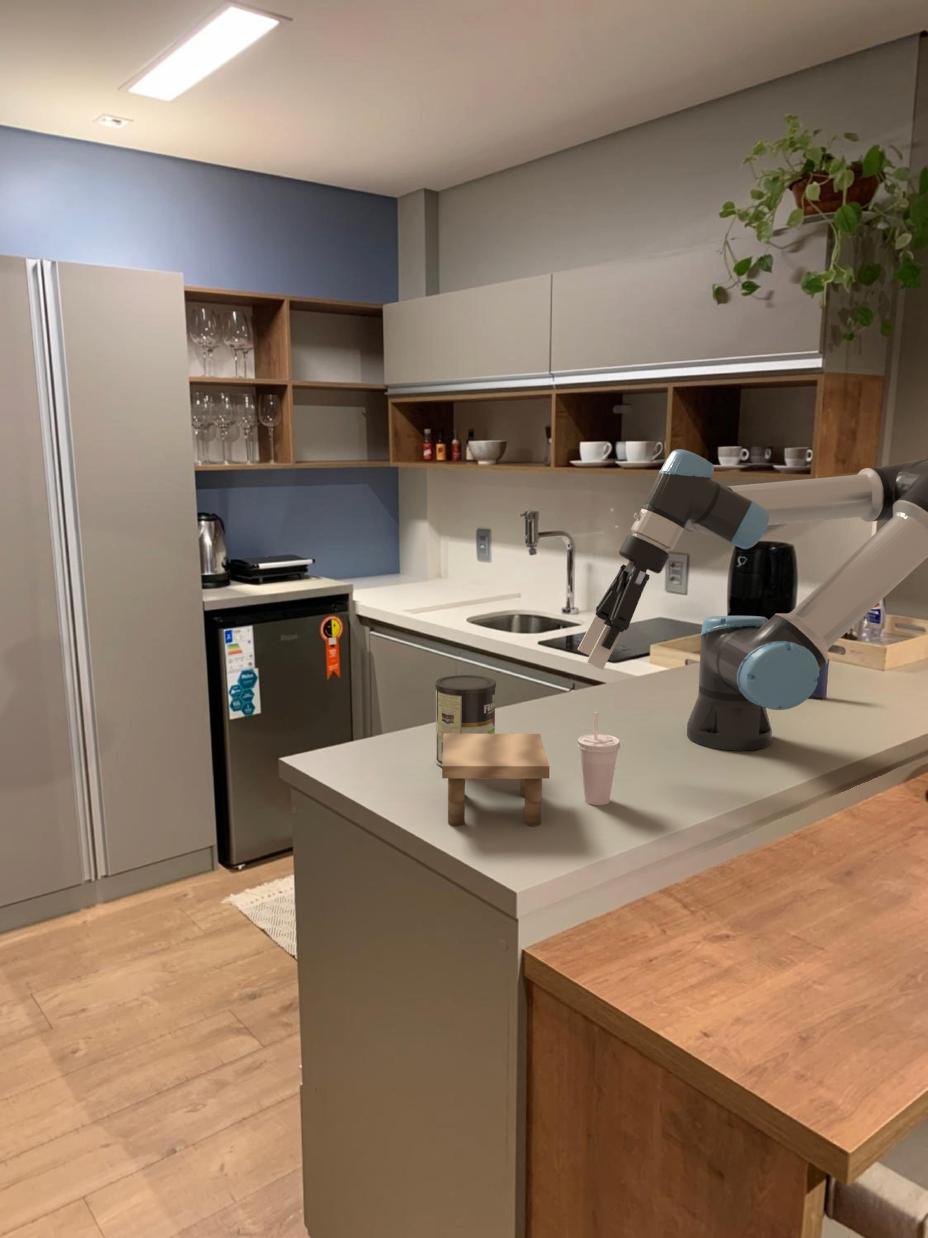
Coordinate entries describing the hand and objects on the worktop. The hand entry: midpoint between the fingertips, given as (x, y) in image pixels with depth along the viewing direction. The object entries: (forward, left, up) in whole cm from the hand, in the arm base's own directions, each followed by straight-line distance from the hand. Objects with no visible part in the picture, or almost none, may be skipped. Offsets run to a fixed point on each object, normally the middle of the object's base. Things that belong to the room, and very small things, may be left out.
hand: (589, 659), depth 153 cm
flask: (-54, -47, -19) cm, 74 cm away
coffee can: (+20, -4, -19) cm, 28 cm away
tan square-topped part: (+16, +17, -19) cm, 30 cm away
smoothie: (0, +14, -19) cm, 24 cm away
